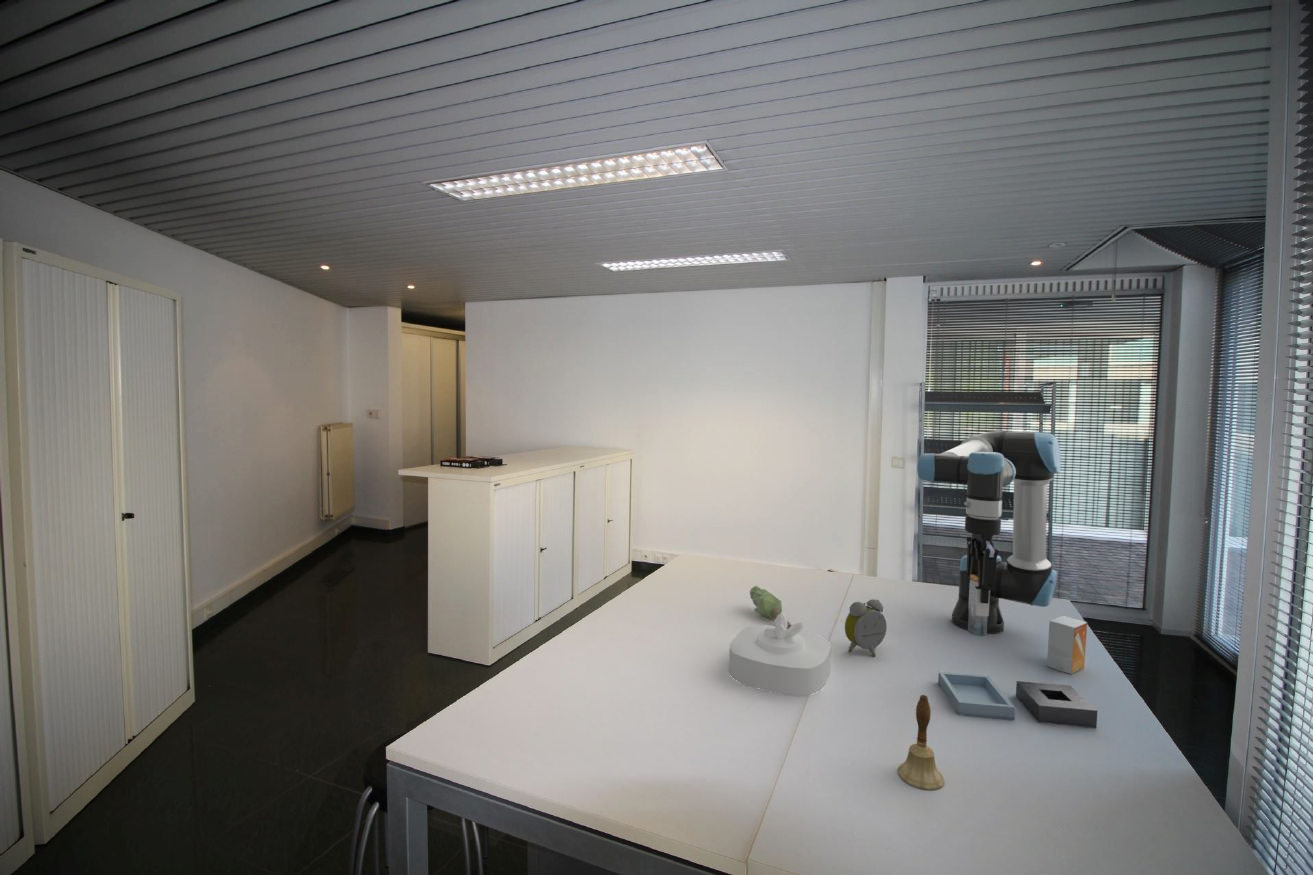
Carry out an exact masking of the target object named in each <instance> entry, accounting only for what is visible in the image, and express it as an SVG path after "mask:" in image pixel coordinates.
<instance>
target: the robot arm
mask: <svg viewBox="0 0 1313 875" xmlns="http://www.w3.org/2000/svg"><path fill="white" fill-rule="evenodd" d="M1060 448H1061V447H1060V444H1059V441H1058V439H1057V437H1056V436H1055V434H1052V433H1047V432H1046V433H1045V432H1039V431H1003V430H993V431H988V432H983V433H979V434H976V435H972V436H970V437H967V438H965V439H964V440H963V441H961V443H960V444H959V445H957V446H956V447H953V448H951V449H948V450H946V451H943V452H942V453H933V452H931V453H921V455H920V456H919V458H918V461H917V466H916V470H917V471H916V472H917V475H918V479H920V480H922V481H923V482H931V483H943V484H953V485H963V486H966V500H965V501H964V502H963V504H964V506H965V513H966V516H965V517H964V518H965V519H964V530H965V531H966V532H967V533H969V534H971V536H967V537H966V547H967V548H966V549H967V550H966V555H963V556H962V557H961V558H960V563H959V568H958V570H959V575H958V577H959V578H958V579H959V581H958V599H957V601H956V604H955V606H954V608H953V611H952V612H951V622H952V624H954V625H955V626H957V627H959V628H961V629H964V630H966V631H968V619H969V598H970V577H971V574H978V586H975V588H976V589H977V590H976V610H975V615H977V616H987V634H997V633H1002V632H1003V631H1004V629H1005V621H1004V619H1003V618H1004V617H1003V615H1002V611H1001V609H1000V604H999V603H1000V599H1002V600H1006V601H1012V602H1015V603H1016V602H1017V603H1020V604H1026V605H1030V606H1035V607H1042V608H1045V607H1046V608H1047V607H1048V606H1049V605H1050V604H1051V602H1052V600H1053V596H1054V594H1055V590H1056V586H1057V582H1058V571H1057V570H1055V569H1052V562H1051V561H1049V560H1048V559H1047V558H1046V554H1047V553H1046V552H1047V548H1046V547H1047V544H1046V543H1047V516H1048V515H1047V514H1048V511H1047V510H1048V483H1050V482H1051V481H1053V480H1054V477H1055V475H1057V474H1058V473H1060V472H1061V468H1062V467H1061V464H1062V463H1061V462H1062V457H1061V456H1062V455H1061V449H1060ZM1012 482H1013V514H1012V515H1013V517H1012V518H1013V520H1012V523H1013V524H1012V555H1010V556H1008V557H1007V558H1006V560H1007V562H1006V561H1002V557H1001V556H1000V555H999V550H998V548H995V547H994V542H993V536H997V535H1000V534H1001V527H1002V520H1001V519H1000V517H1001V516H1002V514H1003V511H1002V510H1003V488H1005V487H1008V486H1009V485H1010V484H1011V483H1012Z"/></svg>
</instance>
